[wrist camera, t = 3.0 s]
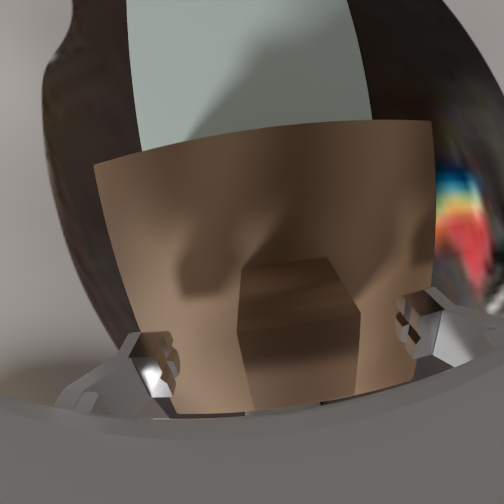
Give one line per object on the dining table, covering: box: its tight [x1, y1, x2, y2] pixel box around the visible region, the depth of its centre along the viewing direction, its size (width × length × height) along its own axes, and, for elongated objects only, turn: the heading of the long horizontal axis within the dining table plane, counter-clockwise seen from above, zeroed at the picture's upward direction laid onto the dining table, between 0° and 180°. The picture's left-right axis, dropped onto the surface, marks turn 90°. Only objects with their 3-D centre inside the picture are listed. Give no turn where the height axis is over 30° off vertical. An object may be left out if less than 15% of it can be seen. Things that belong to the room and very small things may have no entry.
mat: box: [127, 0, 372, 151], centre depth 16 cm, size 16×14×1 cm
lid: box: [93, 120, 436, 414], centre depth 10 cm, size 13×13×5 cm
